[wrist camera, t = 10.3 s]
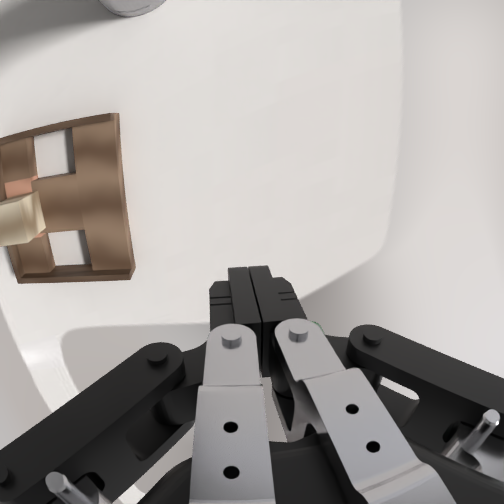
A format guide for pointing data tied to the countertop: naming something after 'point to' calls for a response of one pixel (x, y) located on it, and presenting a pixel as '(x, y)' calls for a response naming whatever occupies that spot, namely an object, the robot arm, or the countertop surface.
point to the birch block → (20, 219)
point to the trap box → (73, 202)
